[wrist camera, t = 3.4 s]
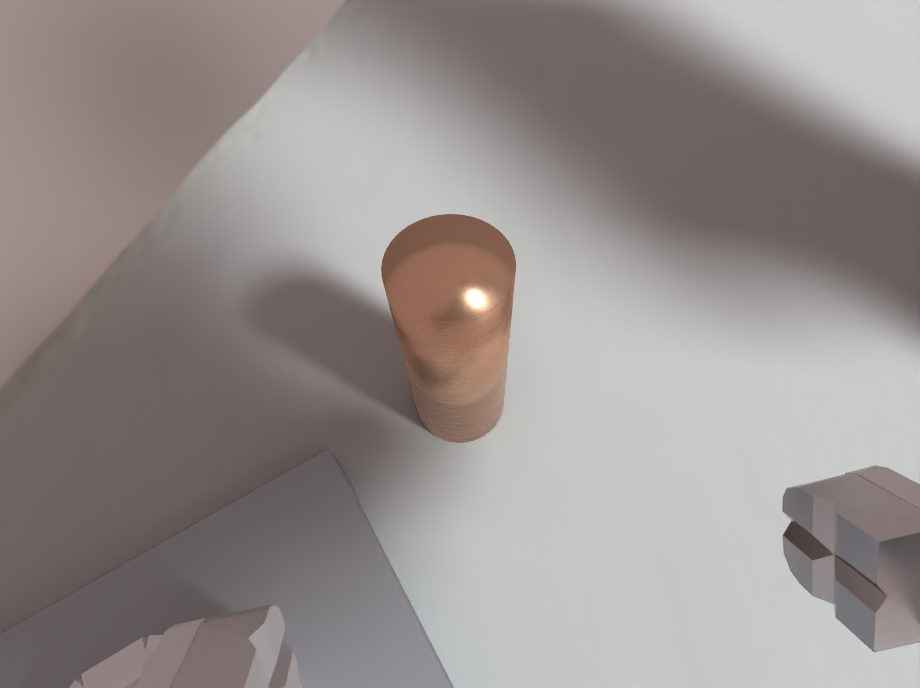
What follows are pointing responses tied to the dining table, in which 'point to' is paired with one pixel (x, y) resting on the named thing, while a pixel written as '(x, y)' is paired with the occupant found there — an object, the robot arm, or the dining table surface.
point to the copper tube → (453, 320)
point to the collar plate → (243, 596)
